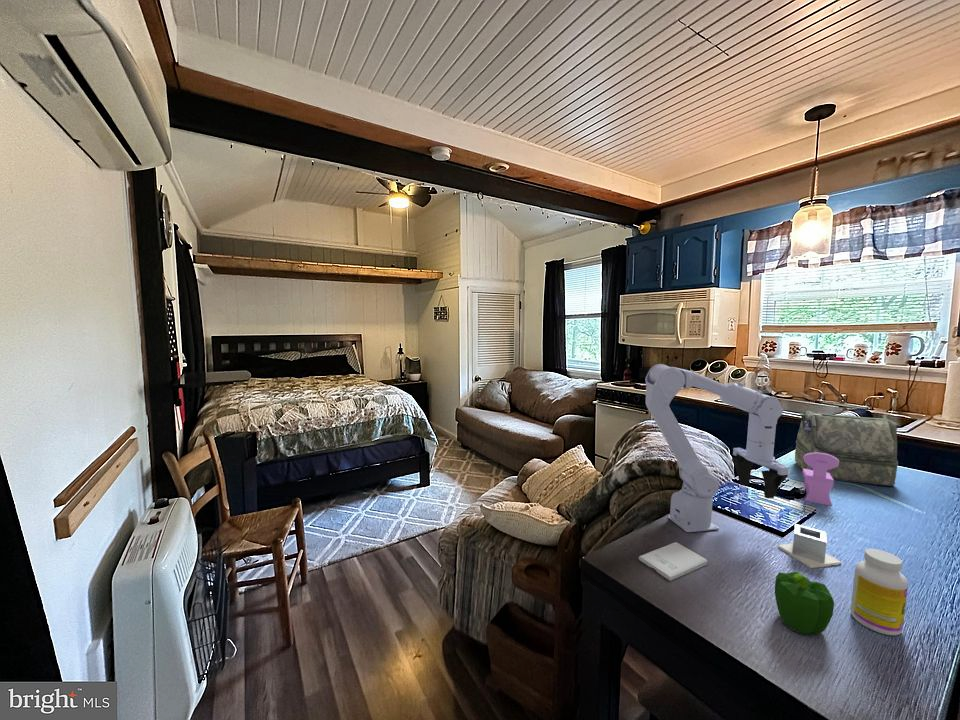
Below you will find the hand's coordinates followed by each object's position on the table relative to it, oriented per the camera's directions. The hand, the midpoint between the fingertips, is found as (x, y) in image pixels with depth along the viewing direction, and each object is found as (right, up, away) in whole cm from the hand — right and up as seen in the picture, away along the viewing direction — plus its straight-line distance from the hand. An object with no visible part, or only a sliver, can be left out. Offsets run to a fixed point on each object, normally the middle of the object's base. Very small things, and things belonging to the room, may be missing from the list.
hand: (756, 491), depth 102 cm
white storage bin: (+4, -11, -11) cm, 16 cm away
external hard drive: (-29, -12, -14) cm, 34 cm away
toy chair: (+32, -8, +19) cm, 37 cm away
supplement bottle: (-1, -14, -31) cm, 34 cm away
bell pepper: (-15, -14, -32) cm, 37 cm away
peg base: (+4, -11, -11) cm, 16 cm away
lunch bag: (+56, -7, +37) cm, 67 cm away
